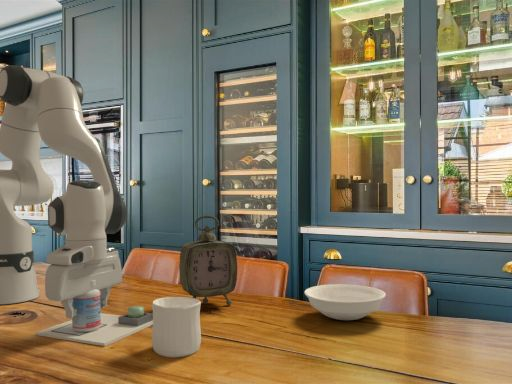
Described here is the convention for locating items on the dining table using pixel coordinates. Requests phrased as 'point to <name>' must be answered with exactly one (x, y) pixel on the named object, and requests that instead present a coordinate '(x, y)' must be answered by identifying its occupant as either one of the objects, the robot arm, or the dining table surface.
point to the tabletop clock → (208, 266)
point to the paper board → (94, 331)
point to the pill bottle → (87, 311)
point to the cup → (176, 326)
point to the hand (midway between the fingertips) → (87, 312)
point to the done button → (135, 311)
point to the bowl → (345, 300)
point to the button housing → (135, 319)
